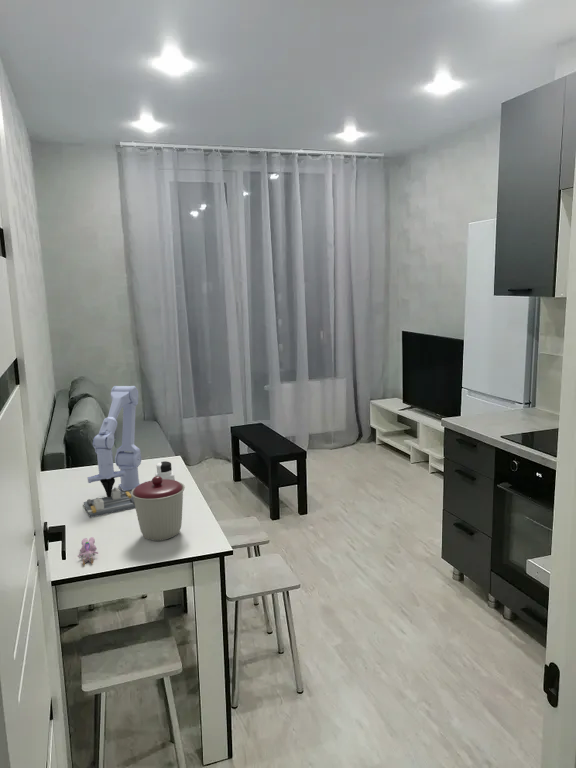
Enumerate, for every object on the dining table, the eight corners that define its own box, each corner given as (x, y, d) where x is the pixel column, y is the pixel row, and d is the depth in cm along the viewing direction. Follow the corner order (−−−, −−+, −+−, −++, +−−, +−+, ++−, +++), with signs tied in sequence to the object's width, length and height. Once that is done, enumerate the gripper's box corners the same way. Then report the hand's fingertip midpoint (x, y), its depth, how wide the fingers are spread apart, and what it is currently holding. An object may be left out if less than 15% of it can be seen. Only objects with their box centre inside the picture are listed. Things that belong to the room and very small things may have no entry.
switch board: (83, 504, 235) (83, 499, 234) (133, 494, 244) (133, 489, 243) (90, 517, 221) (89, 512, 221) (143, 506, 231) (142, 500, 230)
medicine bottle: (173, 486, 252) (171, 459, 250) (175, 491, 246) (173, 463, 243) (156, 488, 250) (154, 461, 248) (158, 494, 243) (155, 466, 241)
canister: (145, 523, 214) (140, 468, 210) (194, 523, 212) (189, 467, 208) (126, 545, 196) (121, 485, 192) (179, 546, 194) (174, 485, 190)
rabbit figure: (99, 567, 185) (98, 540, 199) (97, 551, 183) (96, 525, 197) (78, 570, 183) (79, 544, 197) (76, 554, 181) (77, 528, 195)
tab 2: (111, 497, 238) (110, 488, 237) (118, 495, 239) (117, 486, 239) (113, 500, 234) (112, 491, 234) (120, 498, 236) (120, 489, 235)
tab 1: (94, 507, 227) (93, 498, 227) (102, 505, 229) (101, 496, 228) (96, 510, 224) (95, 501, 223) (104, 509, 225) (103, 499, 224)
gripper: (88, 469, 226) (91, 503, 229) (126, 463, 233) (129, 495, 235) (85, 465, 232) (88, 497, 235) (122, 458, 239) (125, 490, 241)
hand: (108, 496), depth 235 cm, fingers closed
